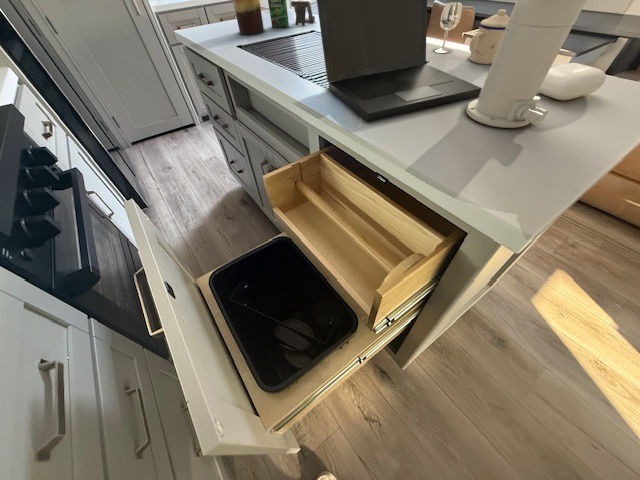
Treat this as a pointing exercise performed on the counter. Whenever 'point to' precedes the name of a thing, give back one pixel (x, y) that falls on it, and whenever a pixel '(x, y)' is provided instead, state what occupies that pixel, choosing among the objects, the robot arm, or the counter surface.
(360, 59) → the laptop screen
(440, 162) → the counter surface
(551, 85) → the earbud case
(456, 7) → the wineglass
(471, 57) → the teacup with lid
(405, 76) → the laptop
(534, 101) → the robot arm
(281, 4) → the coffee box
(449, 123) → the counter surface
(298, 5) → the tablet stand
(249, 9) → the vase
